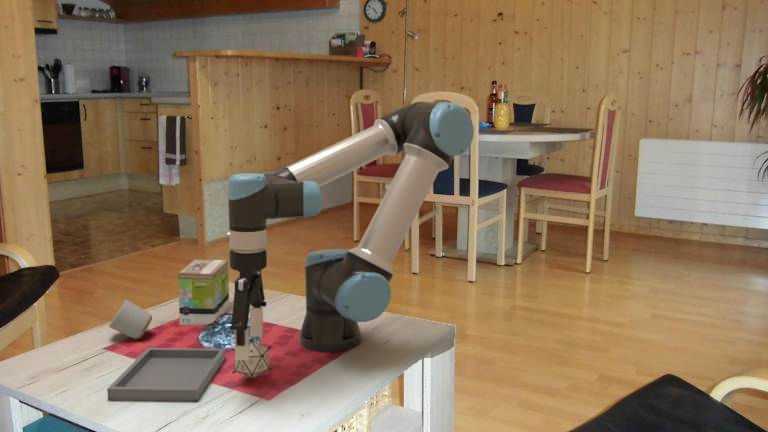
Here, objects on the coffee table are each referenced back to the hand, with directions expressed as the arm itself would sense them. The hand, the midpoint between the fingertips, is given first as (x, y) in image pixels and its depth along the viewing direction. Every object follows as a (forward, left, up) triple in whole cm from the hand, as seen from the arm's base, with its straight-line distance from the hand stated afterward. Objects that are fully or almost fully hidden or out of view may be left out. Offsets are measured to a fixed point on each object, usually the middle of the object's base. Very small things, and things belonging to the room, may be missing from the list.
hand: (249, 347), depth 146 cm
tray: (+18, -1, -8) cm, 19 cm away
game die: (0, 0, -8) cm, 8 cm away
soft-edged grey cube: (+36, -26, -8) cm, 45 cm away
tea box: (+22, -41, -8) cm, 47 cm away
